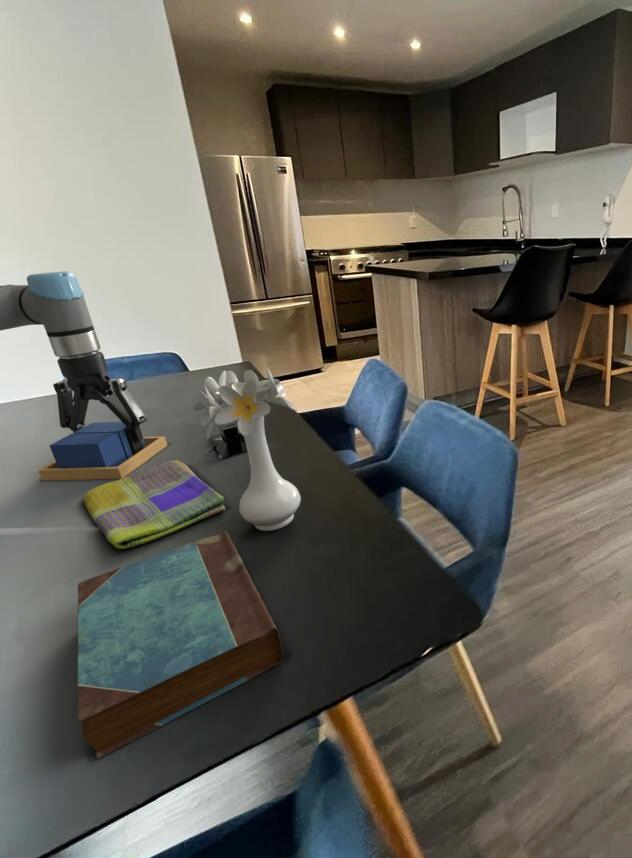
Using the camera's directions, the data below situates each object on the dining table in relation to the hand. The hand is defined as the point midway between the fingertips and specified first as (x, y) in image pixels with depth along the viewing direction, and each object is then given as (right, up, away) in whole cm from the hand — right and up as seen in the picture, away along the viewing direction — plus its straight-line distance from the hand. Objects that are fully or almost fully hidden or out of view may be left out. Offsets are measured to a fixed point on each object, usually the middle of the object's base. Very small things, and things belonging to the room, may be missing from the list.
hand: (115, 455), depth 105 cm
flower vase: (+42, -9, -25) cm, 50 cm away
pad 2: (0, 0, 0) cm, 0 cm away
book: (+40, -18, -47) cm, 65 cm away
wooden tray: (0, -2, -2) cm, 2 cm away
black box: (+23, +2, +4) cm, 24 cm away
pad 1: (0, -3, -5) cm, 6 cm away
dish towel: (+20, -8, -19) cm, 29 cm away
